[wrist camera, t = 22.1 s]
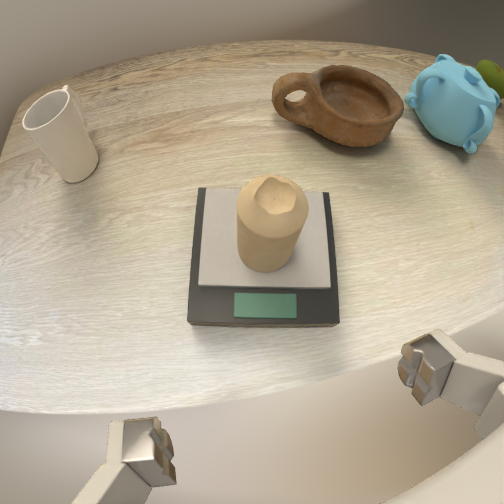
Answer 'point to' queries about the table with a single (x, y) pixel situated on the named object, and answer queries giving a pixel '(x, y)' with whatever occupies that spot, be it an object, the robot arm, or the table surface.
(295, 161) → the table surface
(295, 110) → the bowl
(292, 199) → the candle
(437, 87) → the decorative pot
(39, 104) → the mug
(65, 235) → the table surface
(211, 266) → the scale
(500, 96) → the apple
